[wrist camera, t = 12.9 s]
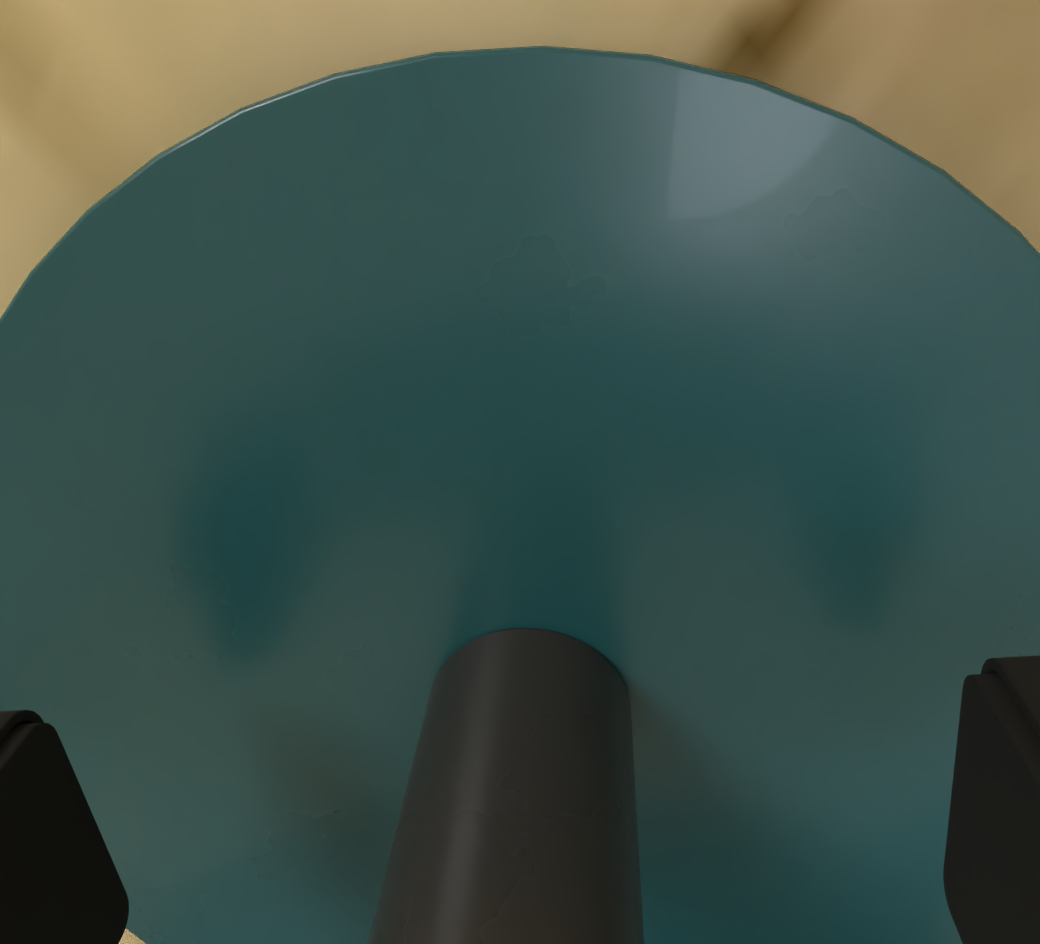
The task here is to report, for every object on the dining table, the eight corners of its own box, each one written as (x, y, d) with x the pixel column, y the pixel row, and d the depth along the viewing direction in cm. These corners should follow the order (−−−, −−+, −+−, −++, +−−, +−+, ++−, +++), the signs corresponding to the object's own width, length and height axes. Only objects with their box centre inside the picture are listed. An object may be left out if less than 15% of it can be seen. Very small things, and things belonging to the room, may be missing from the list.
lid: (-171, 693, 14) (-665, 1112, 9) (399, -331, 9) (29, -1049, 3) (600, 1131, 18) (604, 1643, 12) (1393, 605, 12) (2122, 1114, 6)
